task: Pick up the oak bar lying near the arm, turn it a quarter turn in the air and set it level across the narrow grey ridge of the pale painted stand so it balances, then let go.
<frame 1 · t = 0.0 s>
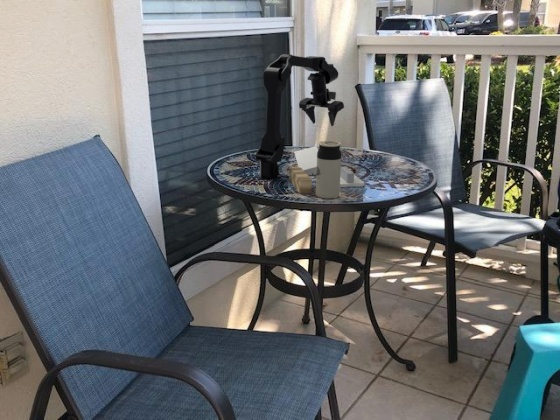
hand: (323, 124, 234), 15 cm above the table, tool pointing down, fingers open, 9 cm apart
fulcrum stand: (346, 182, 208), on the table
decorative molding: (309, 166, 233), on the table
oak bar: (299, 186, 202), on the table
travel mug: (327, 196, 191), on the table
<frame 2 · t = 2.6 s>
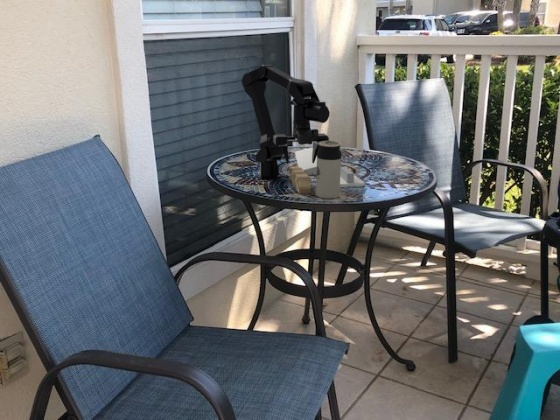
hand: (300, 163, 200), 8 cm above the table, tool pointing down, fingers open, 9 cm apart
nothing on the table moved.
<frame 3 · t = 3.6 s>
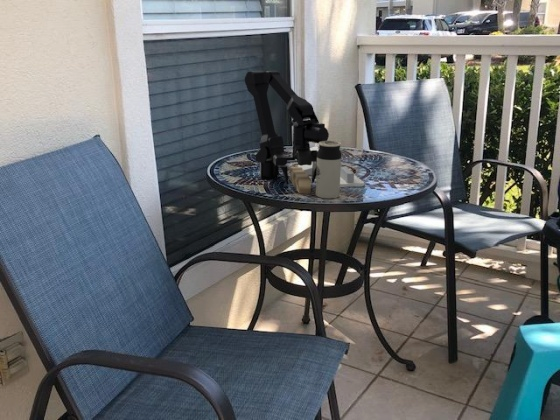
hand: (299, 183, 202), 1 cm above the table, tool pointing down, fingers open, 9 cm apart
nothing on the table moved.
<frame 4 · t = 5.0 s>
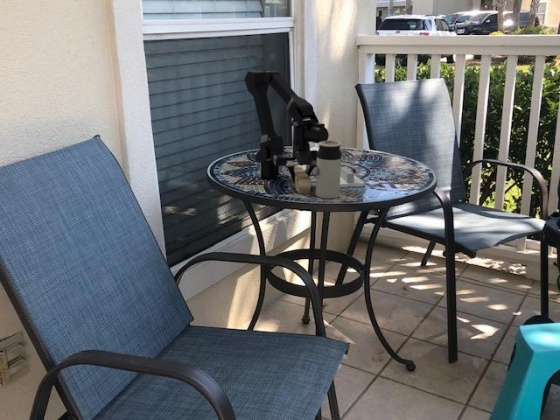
hand: (300, 183, 202), 1 cm above the table, tool pointing down, fingers closed on oak bar, 4 cm apart
oak bar: (299, 186, 202), on the table, touching gripper
everything else where it was.
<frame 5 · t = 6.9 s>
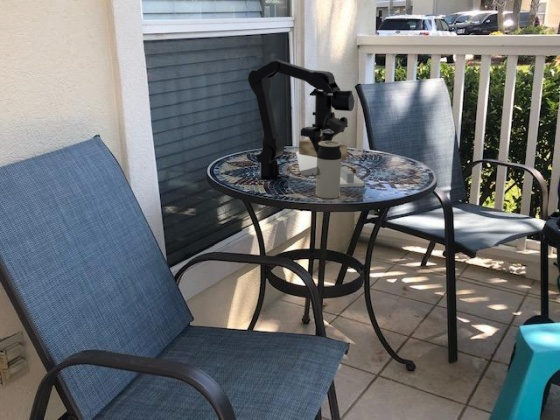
hand: (322, 153, 201), 11 cm above the table, tool pointing down, fingers closed on oak bar, 4 cm apart
oak bar: (322, 156, 201), point 10 cm above the table, touching gripper
everything else where it was.
when the fingers open (7 cm above the table, at t = 9.0 s): oak bar drops 1 cm, resting on fulcrum stand.
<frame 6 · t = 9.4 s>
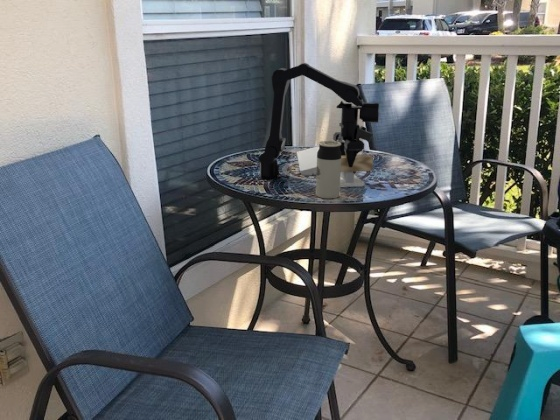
hand: (347, 164, 206), 7 cm above the table, tool pointing down, fingers open, 9 cm apart
oak bar: (346, 170, 207), point 4 cm above the table, touching fulcrum stand
everything else where it was.
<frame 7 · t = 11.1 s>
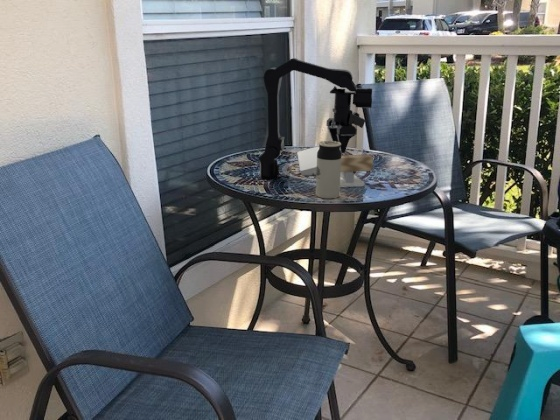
hand: (339, 149, 206), 12 cm above the table, tool pointing down, fingers open, 9 cm apart
nothing on the table moved.
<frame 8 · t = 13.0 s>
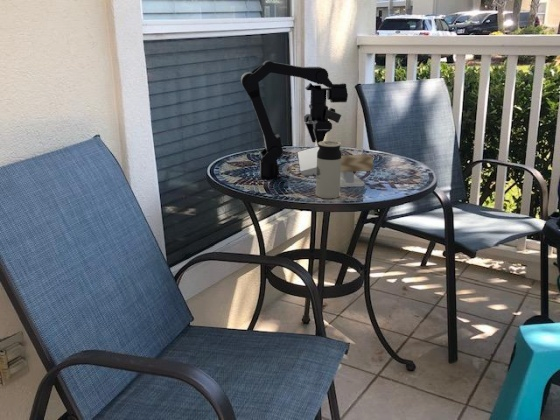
hand: (316, 144, 212), 12 cm above the table, tool pointing down, fingers open, 9 cm apart
nothing on the table moved.
at the end: oak bar 0.0 cm off-centre on the fulcrum stand, point 4.5 cm above the fulcrum stand's base; oak bar tilted 0°; the gripper is holding nothing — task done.
